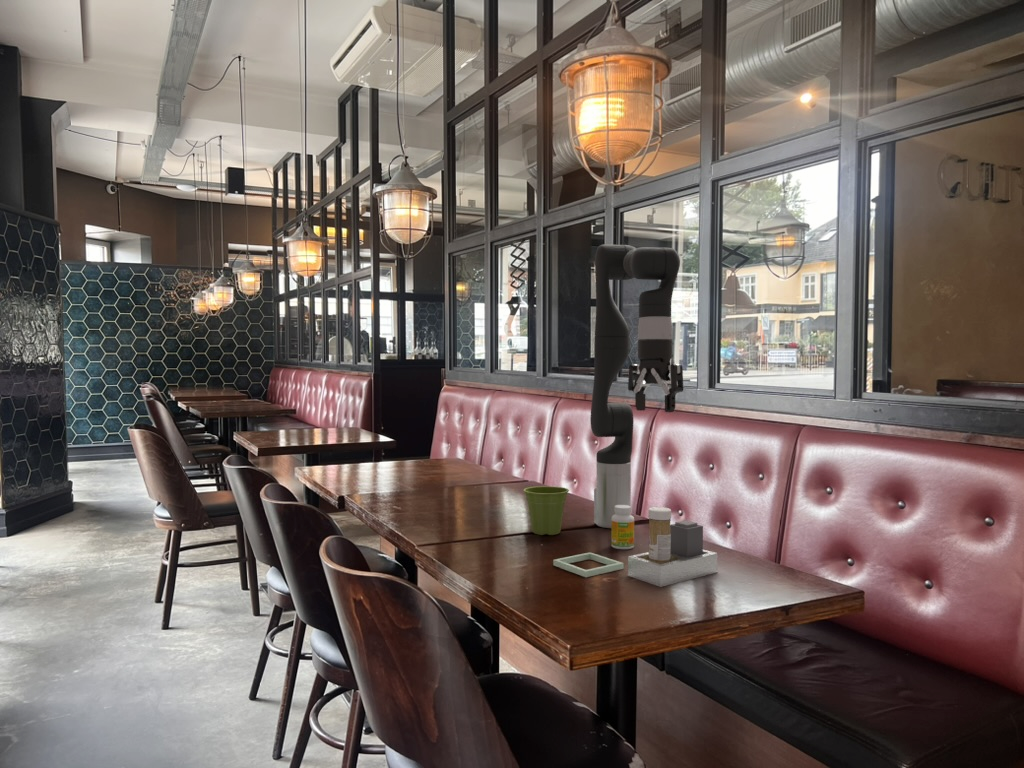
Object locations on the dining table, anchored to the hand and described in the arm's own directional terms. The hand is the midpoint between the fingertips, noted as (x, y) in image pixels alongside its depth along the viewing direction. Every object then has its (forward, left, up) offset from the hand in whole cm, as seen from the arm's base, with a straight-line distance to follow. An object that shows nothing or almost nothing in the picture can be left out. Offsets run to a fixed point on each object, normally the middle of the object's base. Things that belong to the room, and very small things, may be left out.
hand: (654, 411), depth 155 cm
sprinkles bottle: (+10, -9, -33) cm, 35 cm away
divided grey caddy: (+10, -5, -33) cm, 35 cm away
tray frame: (-4, -16, -33) cm, 37 cm away
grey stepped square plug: (+10, -1, -33) cm, 35 cm away
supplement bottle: (-12, +2, -33) cm, 35 cm away
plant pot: (-34, -4, -33) cm, 48 cm away
